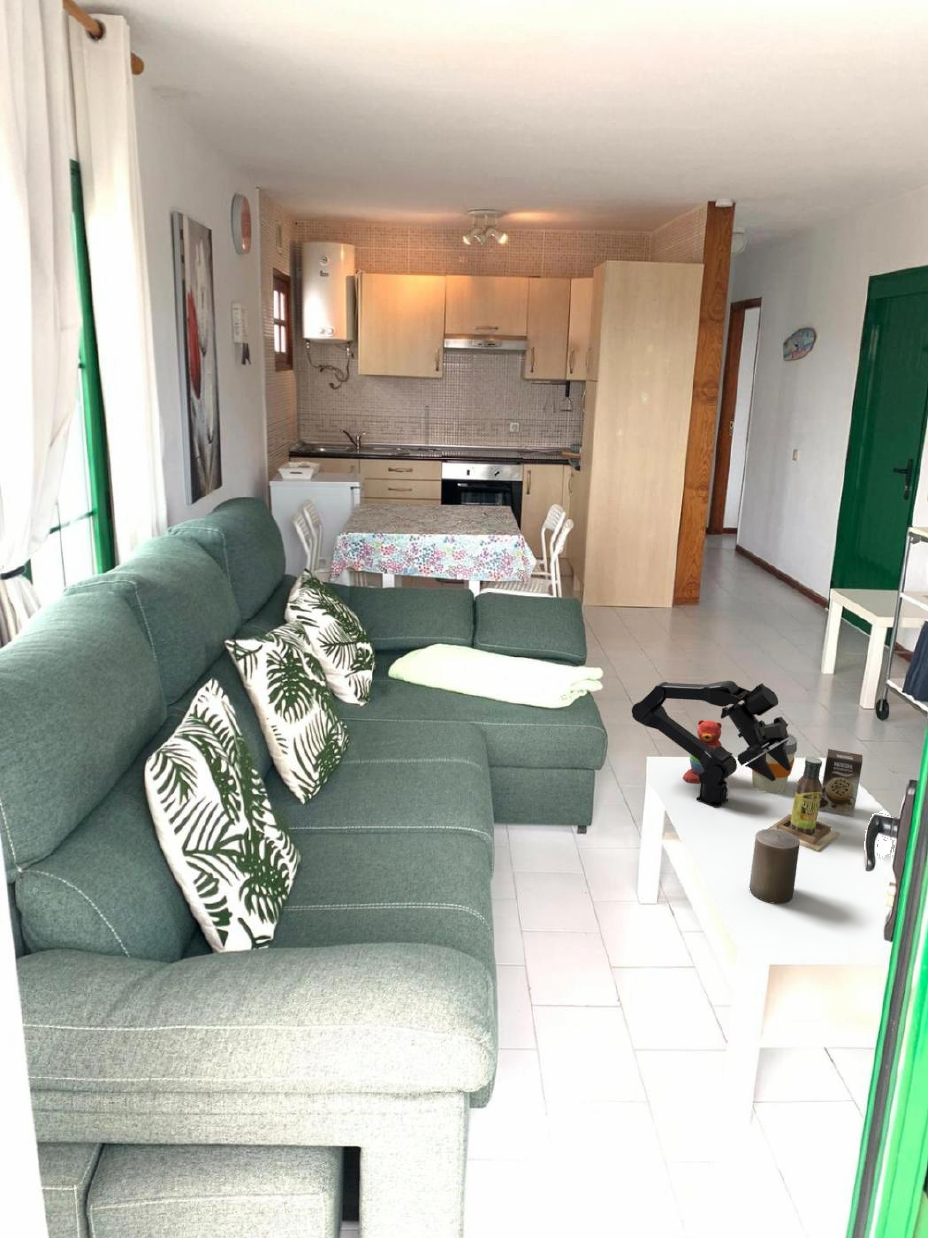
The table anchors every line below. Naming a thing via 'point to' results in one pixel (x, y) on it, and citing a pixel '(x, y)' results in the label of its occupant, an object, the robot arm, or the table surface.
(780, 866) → the pillar candle
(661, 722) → the robot arm
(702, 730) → the stacking bear
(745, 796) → the table surface
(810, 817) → the sauce bottle
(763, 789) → the reusable coffee cup
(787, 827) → the cradle
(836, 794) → the cookie box
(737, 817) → the table surface
